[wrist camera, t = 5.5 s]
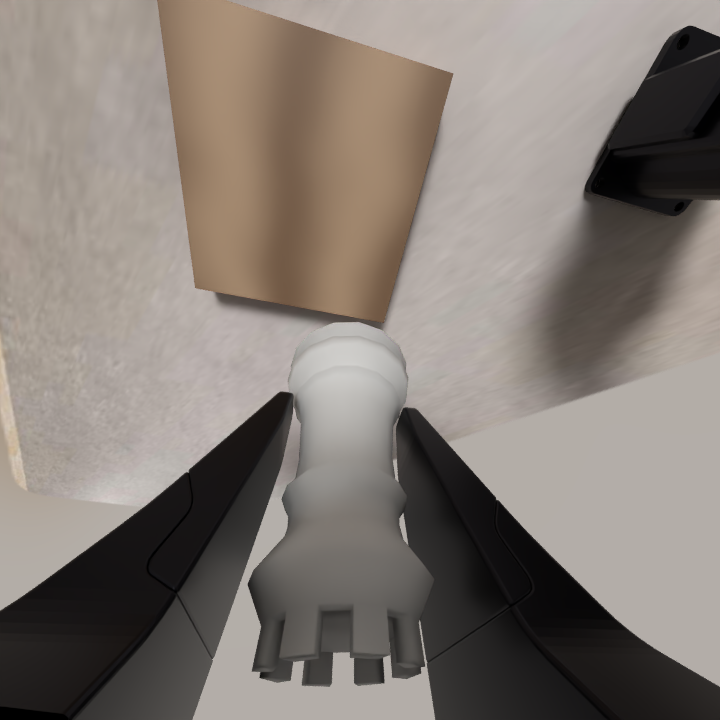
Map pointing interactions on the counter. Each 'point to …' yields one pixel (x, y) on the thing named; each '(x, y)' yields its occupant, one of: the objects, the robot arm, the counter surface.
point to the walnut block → (296, 155)
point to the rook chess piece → (343, 521)
